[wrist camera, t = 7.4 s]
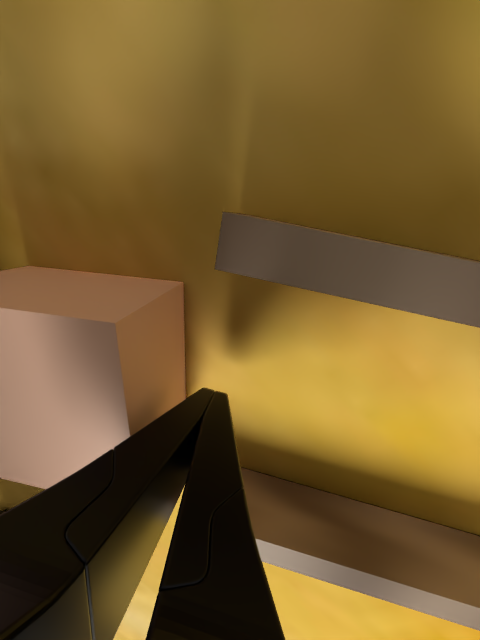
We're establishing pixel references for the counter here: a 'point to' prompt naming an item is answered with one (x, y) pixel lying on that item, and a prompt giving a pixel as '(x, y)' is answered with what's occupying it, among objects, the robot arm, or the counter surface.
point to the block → (83, 366)
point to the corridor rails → (336, 511)
